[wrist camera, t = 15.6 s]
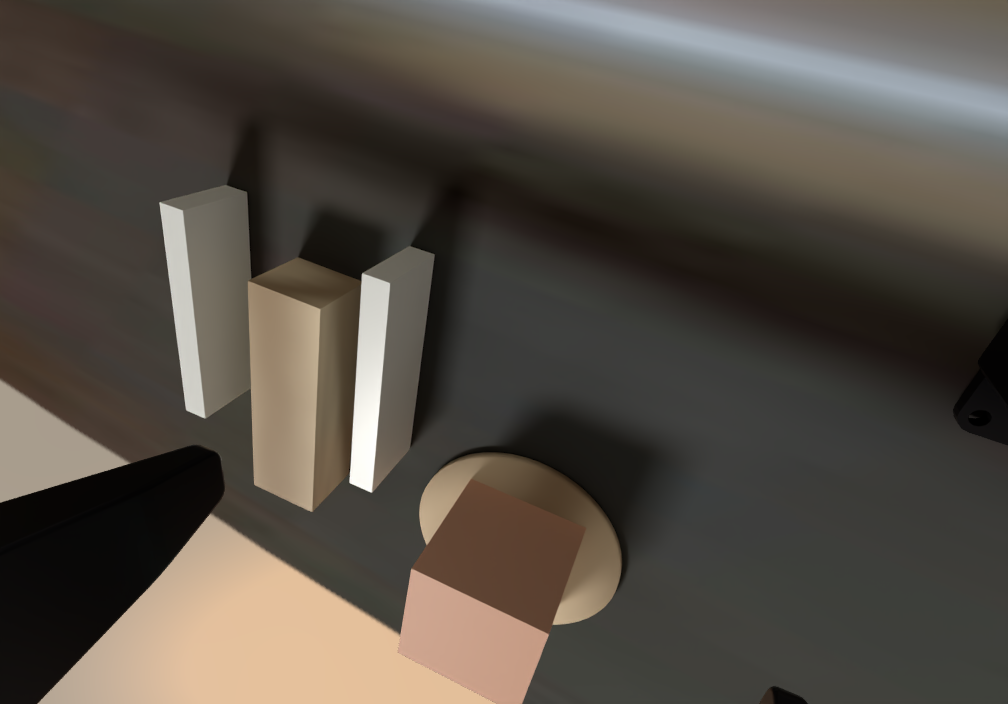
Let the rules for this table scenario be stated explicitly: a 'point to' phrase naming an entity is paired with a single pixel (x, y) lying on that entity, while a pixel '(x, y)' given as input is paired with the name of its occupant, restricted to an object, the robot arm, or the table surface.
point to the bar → (302, 378)
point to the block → (488, 592)
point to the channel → (225, 325)
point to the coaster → (551, 493)
